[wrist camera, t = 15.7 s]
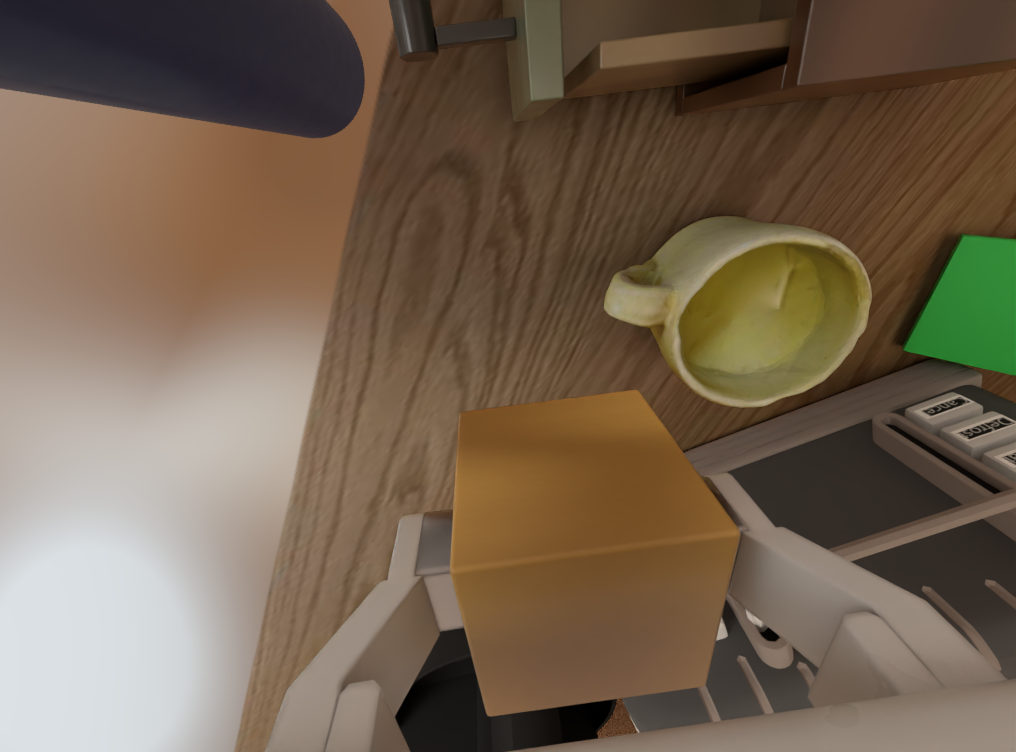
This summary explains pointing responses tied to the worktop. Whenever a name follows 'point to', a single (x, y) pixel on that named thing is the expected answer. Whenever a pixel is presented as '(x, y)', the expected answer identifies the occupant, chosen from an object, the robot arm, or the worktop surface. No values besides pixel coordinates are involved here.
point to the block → (584, 554)
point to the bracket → (972, 307)
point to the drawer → (609, 43)
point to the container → (482, 710)
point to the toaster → (870, 524)
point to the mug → (747, 307)
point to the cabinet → (870, 51)
